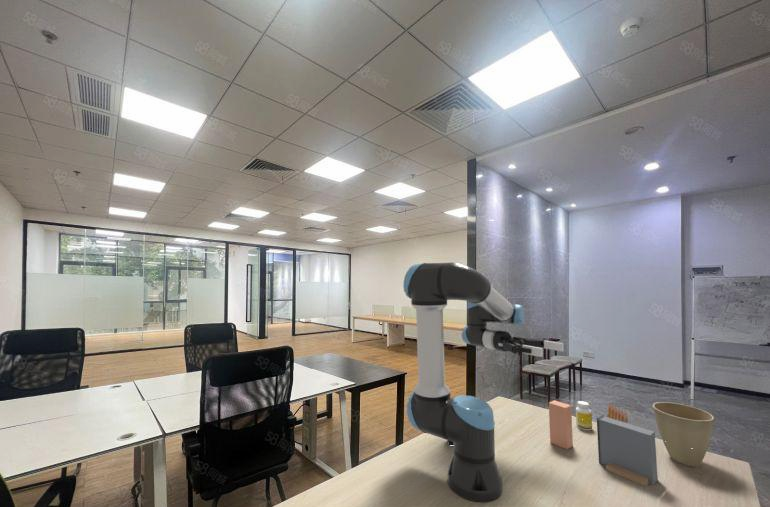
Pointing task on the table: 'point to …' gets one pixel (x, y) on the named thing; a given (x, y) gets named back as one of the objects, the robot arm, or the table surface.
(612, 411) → the ammunition clip
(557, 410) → the stub
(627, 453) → the ticket block
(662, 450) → the table surface
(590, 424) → the supplement bottle
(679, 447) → the plant pot
